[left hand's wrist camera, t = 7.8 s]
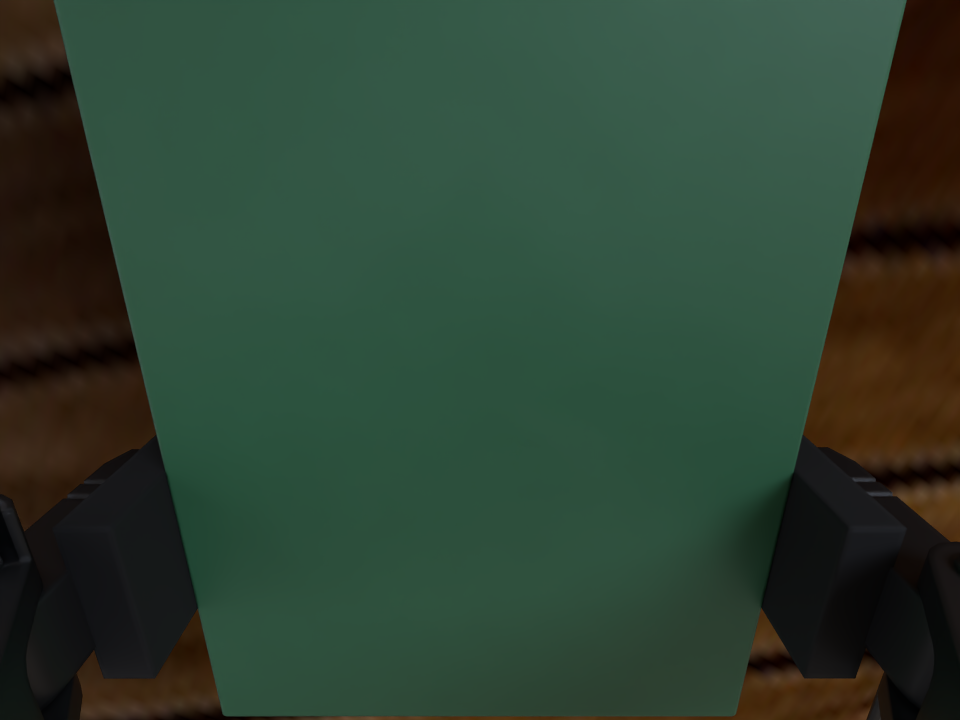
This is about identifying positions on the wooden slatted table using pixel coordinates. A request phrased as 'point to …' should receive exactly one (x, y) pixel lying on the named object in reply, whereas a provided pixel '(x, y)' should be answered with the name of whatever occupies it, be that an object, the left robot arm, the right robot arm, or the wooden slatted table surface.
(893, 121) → the wooden slatted table surface
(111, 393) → the wooden slatted table surface
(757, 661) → the wooden slatted table surface
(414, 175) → the cabinet
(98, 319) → the wooden slatted table surface
